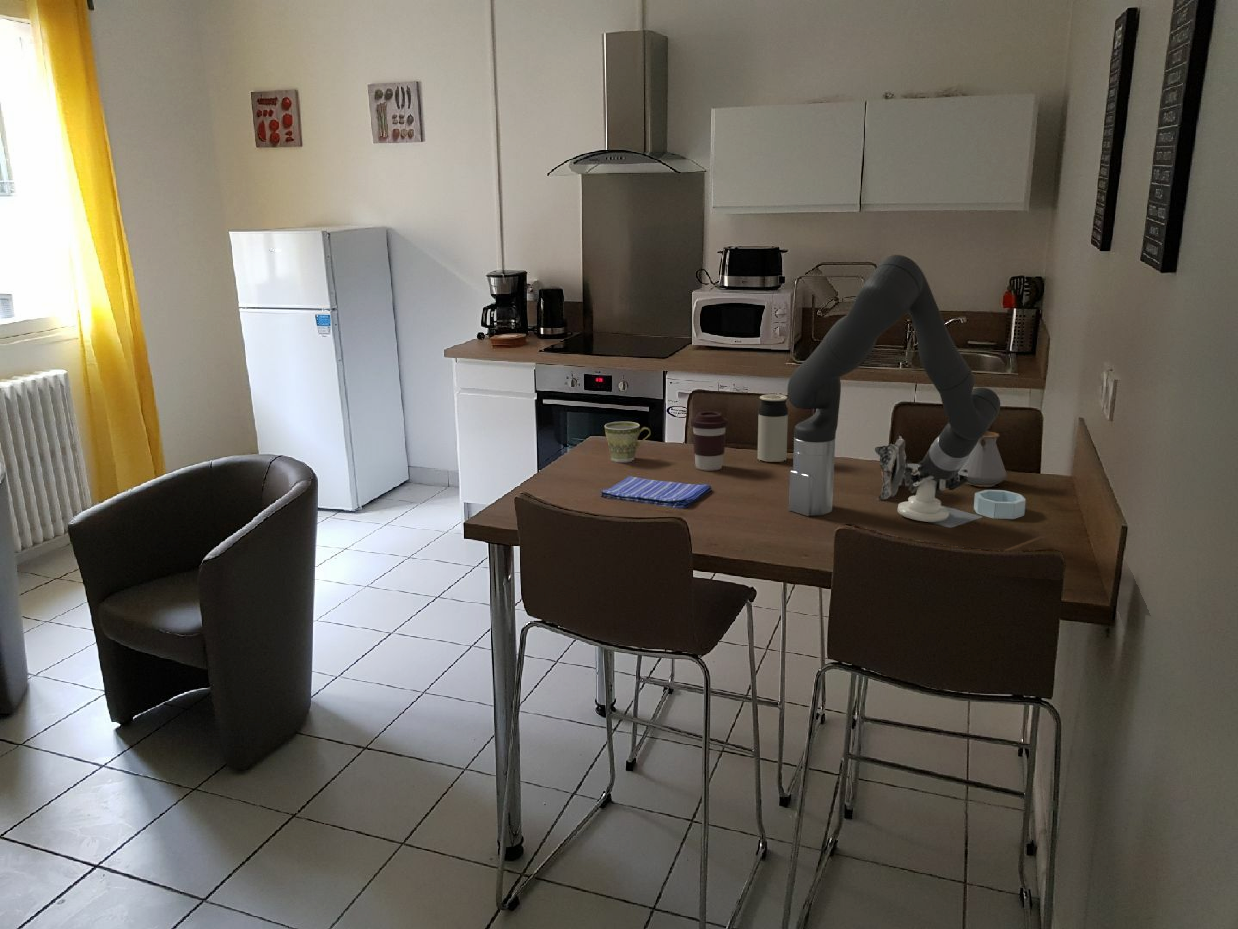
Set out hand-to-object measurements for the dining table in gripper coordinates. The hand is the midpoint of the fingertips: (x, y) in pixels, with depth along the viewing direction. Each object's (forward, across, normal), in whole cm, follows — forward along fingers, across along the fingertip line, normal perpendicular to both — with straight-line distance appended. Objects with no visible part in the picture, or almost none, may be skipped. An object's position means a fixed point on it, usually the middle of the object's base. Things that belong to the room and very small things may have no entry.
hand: (923, 490), depth 207 cm
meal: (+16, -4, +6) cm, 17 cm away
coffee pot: (+18, +19, +13) cm, 29 cm away
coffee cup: (+36, -47, +17) cm, 62 cm away
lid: (+2, +1, -5) cm, 5 cm away
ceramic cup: (+44, -70, +20) cm, 85 cm away
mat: (+2, +5, -5) cm, 7 cm away
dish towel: (+20, -60, -2) cm, 63 cm away
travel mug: (+41, -30, +25) cm, 57 cm away
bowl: (+3, +18, -1) cm, 18 cm away
